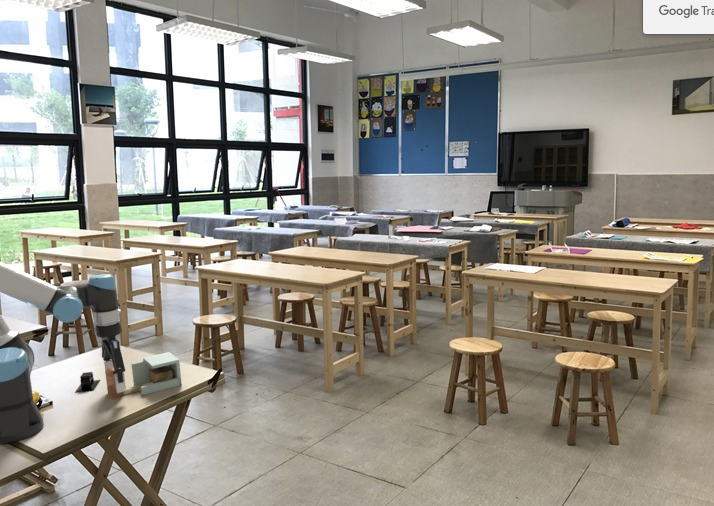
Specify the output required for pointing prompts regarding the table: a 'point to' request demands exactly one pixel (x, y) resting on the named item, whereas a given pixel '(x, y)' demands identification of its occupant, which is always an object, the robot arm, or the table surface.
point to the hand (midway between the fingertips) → (116, 385)
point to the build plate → (87, 383)
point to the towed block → (155, 377)
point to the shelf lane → (153, 362)
